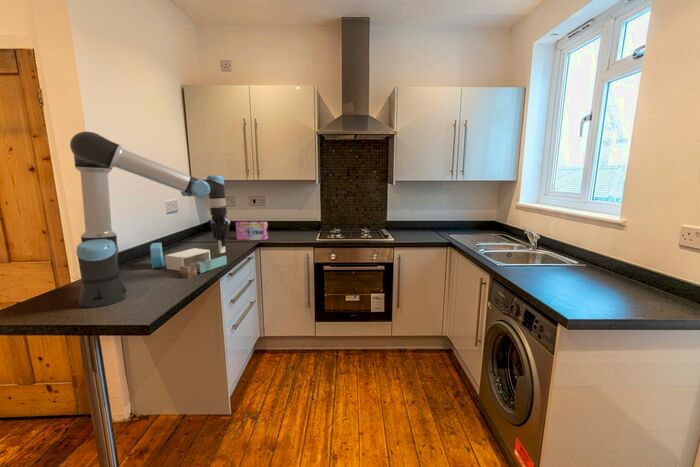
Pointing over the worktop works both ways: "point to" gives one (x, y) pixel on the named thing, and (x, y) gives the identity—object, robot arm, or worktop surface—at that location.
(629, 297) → the worktop surface
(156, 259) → the data package
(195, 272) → the block
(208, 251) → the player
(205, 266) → the teal grey flat block
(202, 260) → the disc
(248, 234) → the gum box
